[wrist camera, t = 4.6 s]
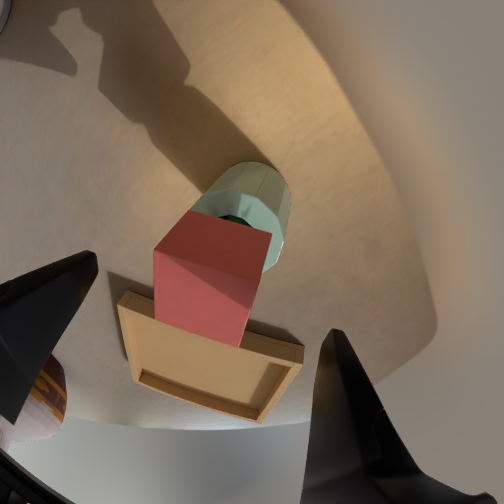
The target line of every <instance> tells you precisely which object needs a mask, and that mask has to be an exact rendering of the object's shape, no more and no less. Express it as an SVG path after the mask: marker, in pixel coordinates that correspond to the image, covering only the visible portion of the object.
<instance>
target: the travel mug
mask: <svg viewBox="0 0 504 504" xmlns="http://www.w3.org/2000/svg"><path fill="white" fill-rule="evenodd" d="M10 8H11V0H0V33H1V31H2V29H3V27H4V25H5V23H6V21H7V18H8V15H9V12H10Z"/></svg>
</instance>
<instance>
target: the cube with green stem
mask: <svg viewBox="0 0 504 504" xmlns="http://www.w3.org/2000/svg"><path fill="white" fill-rule="evenodd" d="M271 238H272V233H270V232H266V231H263V230H259V229H256V228H252V227H251V225H250V224H249V223H248V222H247V221H245V220H244V219H243V218H241V217H237V216H233V215H229V216H228V217H227V219H226V220H224V219H221V218H217V217H214V216H210V215H207V214H203V213H199V212H196V211H192V210H188V211H187V212H186V213H185V214H184V216H183V217H182V218H181V219H180V220H179V221H178V222H177V223H176V224H175V226H174V227H173V228H172V229H171V230H170V231H169V232H168V234H167V235H166V236H165V237H164V238H163V239H162V240H161V242H160V243H159V244H158V245H157V246H156V247H155V249H154V311H155V320H156V321H159V322H162V323H164V324H167V325H170V326H173V327H175V328H178V329H181V330H184V331H187V332H190V333H193V334H196V335H199V336H202V337H205V338H208V339H211V340H214V341H217V342H220V343H223V344H227V345H230V346H233V347H237V348H238V347H239V346H240V342H241V339H242V336H243V333H244V330H245V327H246V324H247V320H248V317H249V314H250V311H251V308H252V305H253V301H254V298H255V295H256V292H257V288H258V285H259V282H260V278H261V275H262V271H263V267H264V264H265V260H266V257H267V253H268V249H269V246H270V242H271Z"/></svg>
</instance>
